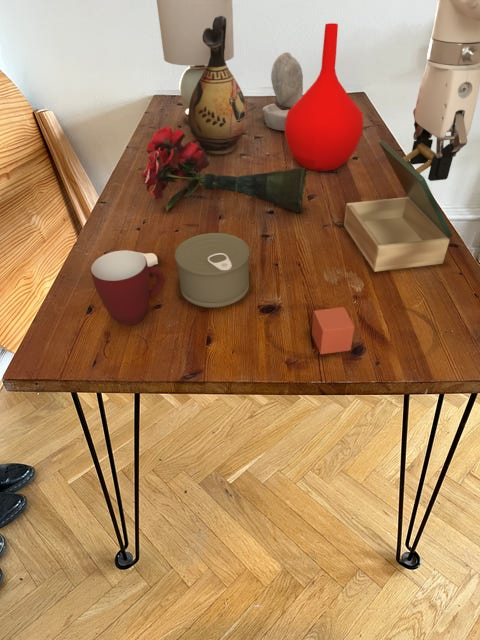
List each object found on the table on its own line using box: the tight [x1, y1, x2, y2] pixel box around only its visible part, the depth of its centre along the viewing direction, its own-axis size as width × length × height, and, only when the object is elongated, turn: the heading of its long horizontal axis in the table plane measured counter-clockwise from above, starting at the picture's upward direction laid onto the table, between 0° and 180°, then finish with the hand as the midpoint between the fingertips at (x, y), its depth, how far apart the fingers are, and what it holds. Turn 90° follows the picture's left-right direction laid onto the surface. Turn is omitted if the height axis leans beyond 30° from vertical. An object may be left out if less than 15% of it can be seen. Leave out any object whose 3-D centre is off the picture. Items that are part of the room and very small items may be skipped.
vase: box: [284, 22, 364, 172], centre depth 110 cm, size 18×18×30 cm
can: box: [174, 232, 251, 308], centre depth 79 cm, size 12×12×7 cm
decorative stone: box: [270, 52, 304, 109], centre depth 152 cm, size 15×10×15 cm
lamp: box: [156, 0, 235, 123], centre depth 136 cm, size 20×20×35 cm
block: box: [311, 306, 355, 355], centre depth 68 cm, size 4×4×4 cm
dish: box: [262, 103, 291, 132], centre depth 139 cm, size 14×14×5 cm
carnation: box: [140, 126, 308, 214], centre depth 102 cm, size 16×18×35 cm
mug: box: [90, 249, 165, 327], centre depth 73 cm, size 11×8×10 cm
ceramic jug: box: [187, 16, 249, 156], centre depth 120 cm, size 17×15×30 cm
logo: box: [137, 251, 159, 267], centre depth 86 cm, size 6×1×8 cm
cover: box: [378, 139, 453, 240], centre depth 83 cm, size 14×17×5 cm
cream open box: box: [343, 196, 451, 272], centre depth 88 cm, size 13×17×5 cm
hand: (427, 170), depth 81 cm, fingers closed on cover, 6 cm apart
